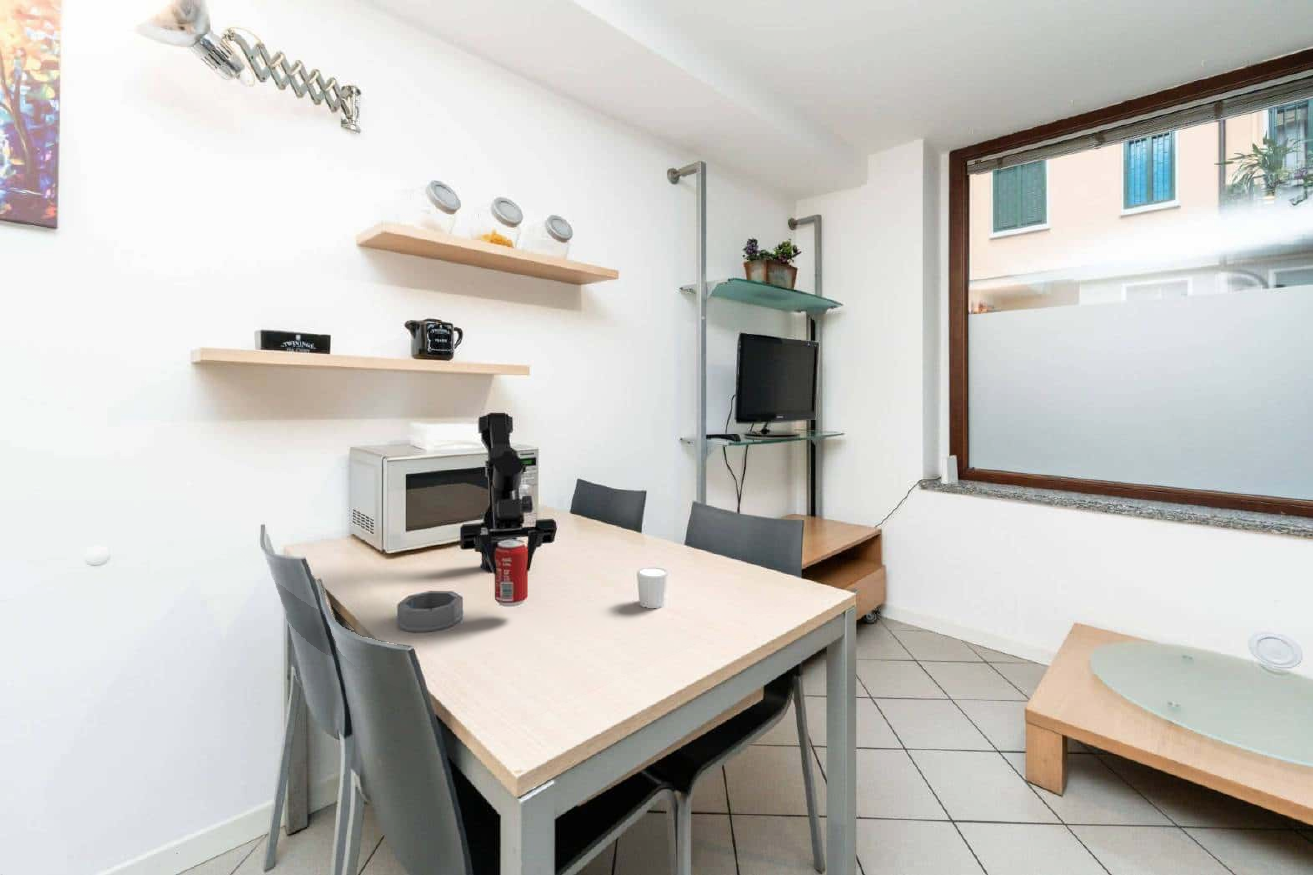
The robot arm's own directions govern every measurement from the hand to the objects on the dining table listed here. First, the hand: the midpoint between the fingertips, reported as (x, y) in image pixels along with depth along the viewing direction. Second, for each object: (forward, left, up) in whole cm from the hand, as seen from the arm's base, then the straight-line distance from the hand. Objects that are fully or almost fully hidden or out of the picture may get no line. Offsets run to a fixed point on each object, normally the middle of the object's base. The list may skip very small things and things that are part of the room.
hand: (511, 571), depth 108 cm
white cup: (-27, +12, -10) cm, 31 cm away
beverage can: (-1, -1, -7) cm, 7 cm away
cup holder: (+11, -11, -10) cm, 19 cm away
